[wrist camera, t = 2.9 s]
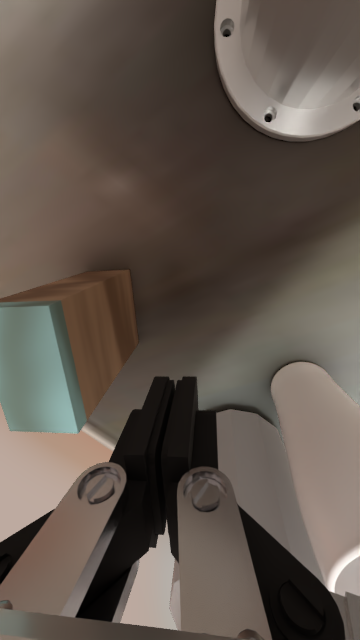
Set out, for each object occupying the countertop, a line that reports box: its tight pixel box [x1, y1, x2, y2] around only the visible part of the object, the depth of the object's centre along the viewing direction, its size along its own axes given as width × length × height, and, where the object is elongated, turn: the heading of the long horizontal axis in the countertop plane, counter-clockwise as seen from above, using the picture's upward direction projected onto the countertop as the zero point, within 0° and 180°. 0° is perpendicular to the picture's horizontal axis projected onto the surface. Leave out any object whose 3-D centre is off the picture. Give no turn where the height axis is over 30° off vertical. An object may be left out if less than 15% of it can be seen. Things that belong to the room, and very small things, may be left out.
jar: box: [169, 409, 326, 631], centre depth 19 cm, size 10×10×18 cm
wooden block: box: [0, 269, 139, 433], centre depth 18 cm, size 4×7×12 cm, turn 4°
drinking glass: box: [271, 362, 360, 597], centre depth 17 cm, size 7×7×15 cm
